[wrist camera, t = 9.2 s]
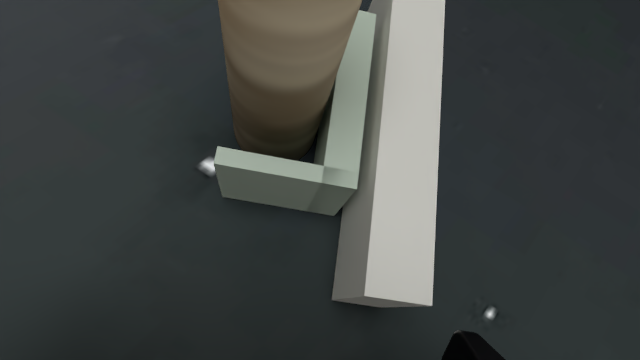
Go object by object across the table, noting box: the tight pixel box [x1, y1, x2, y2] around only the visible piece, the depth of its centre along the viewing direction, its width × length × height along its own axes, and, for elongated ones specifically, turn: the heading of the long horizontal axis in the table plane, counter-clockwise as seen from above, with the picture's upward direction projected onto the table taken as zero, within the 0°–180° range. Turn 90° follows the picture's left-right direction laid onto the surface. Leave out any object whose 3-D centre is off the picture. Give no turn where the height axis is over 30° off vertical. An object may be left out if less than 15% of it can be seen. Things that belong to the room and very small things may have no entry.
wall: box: [332, 0, 445, 307], centre depth 16 cm, size 2×14×5 cm, turn 172°
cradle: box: [214, 10, 376, 216], centre depth 16 cm, size 5×7×4 cm, turn 172°
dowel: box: [218, 0, 362, 161], centre depth 12 cm, size 4×4×13 cm
